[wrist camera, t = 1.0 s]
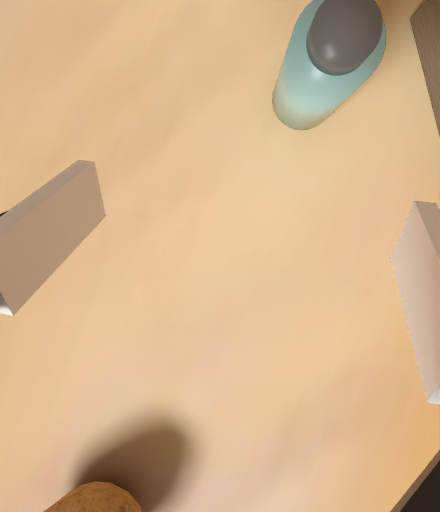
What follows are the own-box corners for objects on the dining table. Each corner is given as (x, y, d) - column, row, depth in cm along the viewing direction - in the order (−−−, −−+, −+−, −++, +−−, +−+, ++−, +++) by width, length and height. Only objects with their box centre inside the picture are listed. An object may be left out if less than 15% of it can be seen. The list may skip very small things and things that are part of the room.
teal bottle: (264, 79, 30) (283, -5, 18) (323, 56, 29) (382, -44, 18) (283, 138, 30) (312, 96, 19) (341, 117, 30) (410, 60, 18)
